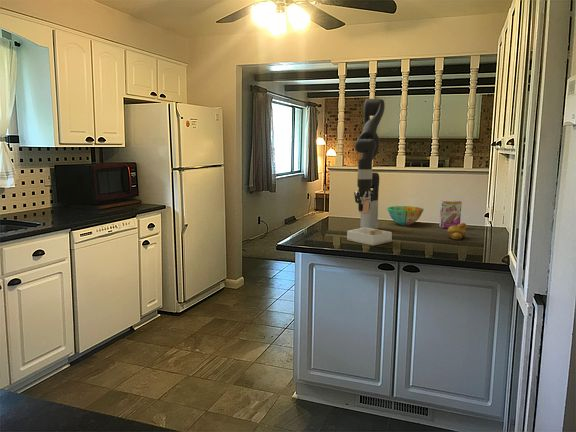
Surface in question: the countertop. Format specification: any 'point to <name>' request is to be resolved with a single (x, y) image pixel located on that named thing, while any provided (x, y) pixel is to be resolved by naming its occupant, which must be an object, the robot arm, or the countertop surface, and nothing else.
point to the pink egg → (365, 207)
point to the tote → (368, 236)
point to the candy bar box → (449, 213)
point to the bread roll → (457, 231)
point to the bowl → (405, 214)
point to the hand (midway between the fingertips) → (364, 210)
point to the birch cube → (375, 232)
